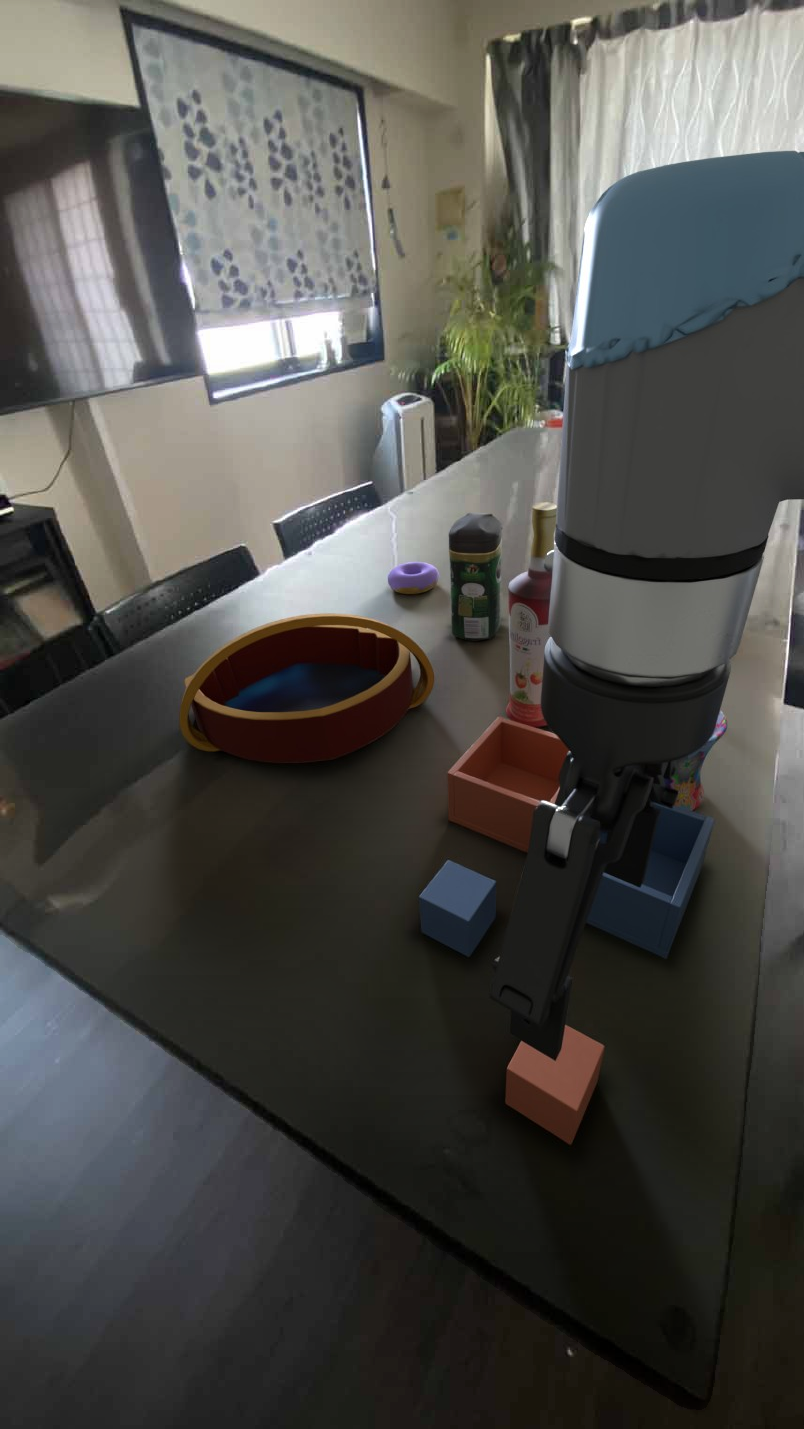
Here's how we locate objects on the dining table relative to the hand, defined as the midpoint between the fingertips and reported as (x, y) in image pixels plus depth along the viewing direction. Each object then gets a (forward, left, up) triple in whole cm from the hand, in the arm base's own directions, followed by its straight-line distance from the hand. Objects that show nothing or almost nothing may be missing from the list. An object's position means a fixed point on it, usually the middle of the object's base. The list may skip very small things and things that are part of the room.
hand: (583, 949), depth 39 cm
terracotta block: (0, +2, -15) cm, 15 cm away
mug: (+3, -35, -15) cm, 38 cm away
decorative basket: (+47, -26, -15) cm, 56 cm away
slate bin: (+2, -19, -15) cm, 24 cm away
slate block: (+13, -7, -15) cm, 21 cm away
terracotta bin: (+15, -24, -15) cm, 32 cm away
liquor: (+21, -40, -15) cm, 48 cm away
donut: (+59, -69, -15) cm, 92 cm away
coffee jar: (+40, -59, -15) cm, 73 cm away
